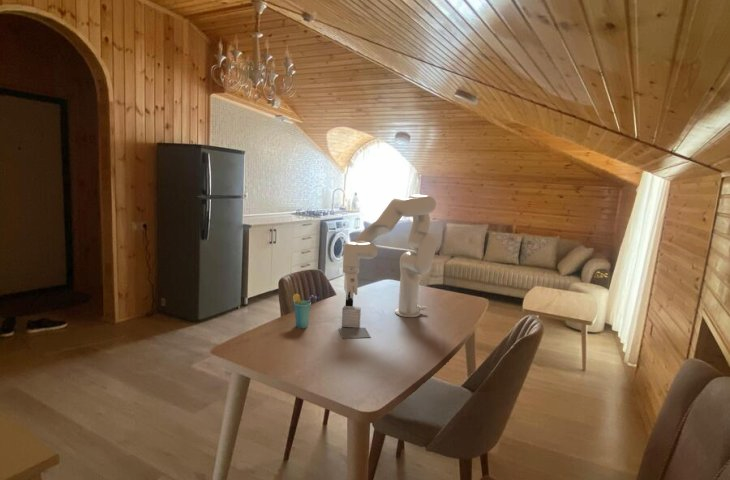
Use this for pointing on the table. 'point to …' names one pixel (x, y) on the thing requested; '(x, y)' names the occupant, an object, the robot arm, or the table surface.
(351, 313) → the medicine box
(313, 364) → the table surface
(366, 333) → the mat
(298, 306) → the cup
